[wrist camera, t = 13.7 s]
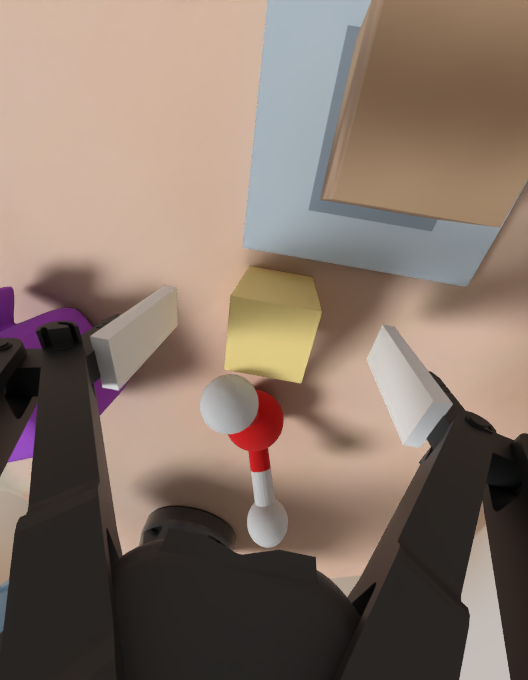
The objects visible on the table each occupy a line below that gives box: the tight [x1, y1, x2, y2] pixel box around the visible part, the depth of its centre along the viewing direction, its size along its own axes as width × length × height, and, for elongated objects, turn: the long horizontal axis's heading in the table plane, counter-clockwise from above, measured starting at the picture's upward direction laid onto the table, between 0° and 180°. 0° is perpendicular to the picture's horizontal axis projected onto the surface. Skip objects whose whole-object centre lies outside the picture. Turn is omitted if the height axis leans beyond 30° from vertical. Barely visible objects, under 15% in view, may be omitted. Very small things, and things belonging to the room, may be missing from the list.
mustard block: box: [224, 266, 322, 383], centre depth 18 cm, size 5×5×7 cm
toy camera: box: [0, 287, 128, 463], centre depth 20 cm, size 11×14×10 cm
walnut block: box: [320, 0, 528, 228], centre depth 11 cm, size 7×7×6 cm
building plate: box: [243, 0, 528, 287], centre depth 14 cm, size 14×16×1 cm
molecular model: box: [200, 374, 288, 548], centre depth 22 cm, size 18×6×10 cm, turn 10°
